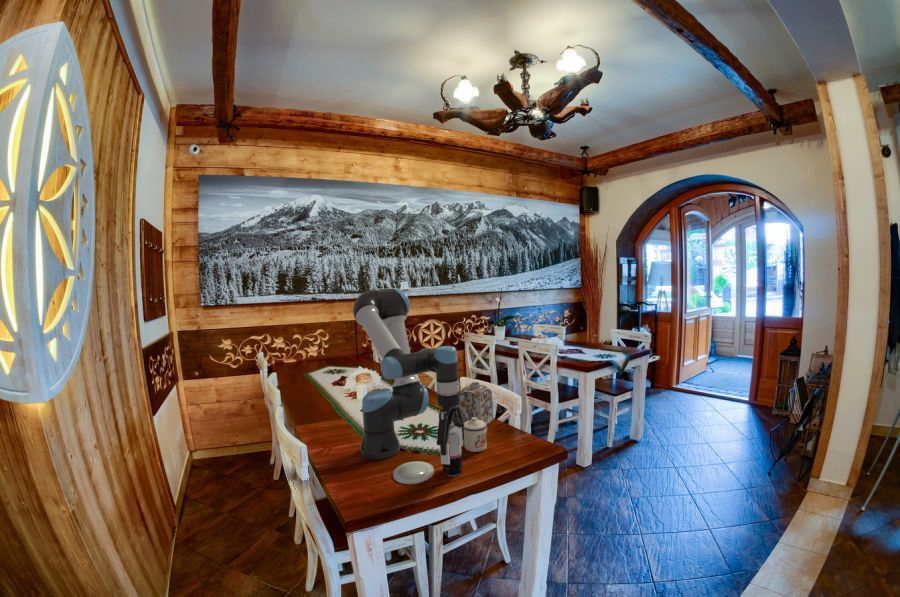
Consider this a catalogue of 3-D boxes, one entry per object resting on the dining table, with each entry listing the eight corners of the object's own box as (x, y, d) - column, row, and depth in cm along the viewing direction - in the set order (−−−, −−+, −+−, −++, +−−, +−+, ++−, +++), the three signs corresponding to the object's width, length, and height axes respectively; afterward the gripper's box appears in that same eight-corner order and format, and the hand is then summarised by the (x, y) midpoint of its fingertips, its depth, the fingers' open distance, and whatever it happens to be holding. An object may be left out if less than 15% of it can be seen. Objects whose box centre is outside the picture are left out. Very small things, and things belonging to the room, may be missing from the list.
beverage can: (447, 478, 123) (445, 434, 123) (440, 470, 129) (437, 427, 129) (465, 473, 126) (463, 430, 125) (457, 465, 132) (455, 423, 131)
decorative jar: (473, 415, 179) (471, 378, 178) (494, 420, 172) (492, 381, 171) (458, 424, 169) (456, 385, 168) (481, 429, 162) (478, 388, 161)
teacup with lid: (477, 454, 139) (476, 424, 138) (459, 448, 145) (457, 419, 144) (496, 443, 148) (494, 414, 147) (478, 437, 154) (476, 409, 153)
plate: (385, 480, 124) (385, 478, 124) (404, 460, 137) (404, 459, 137) (423, 486, 119) (423, 484, 119) (439, 465, 133) (439, 463, 133)
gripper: (445, 405, 113) (450, 473, 114) (469, 382, 137) (473, 439, 137) (423, 404, 116) (427, 470, 117) (450, 382, 139) (454, 438, 140)
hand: (452, 454), depth 127 cm, fingers open, 13 cm apart
